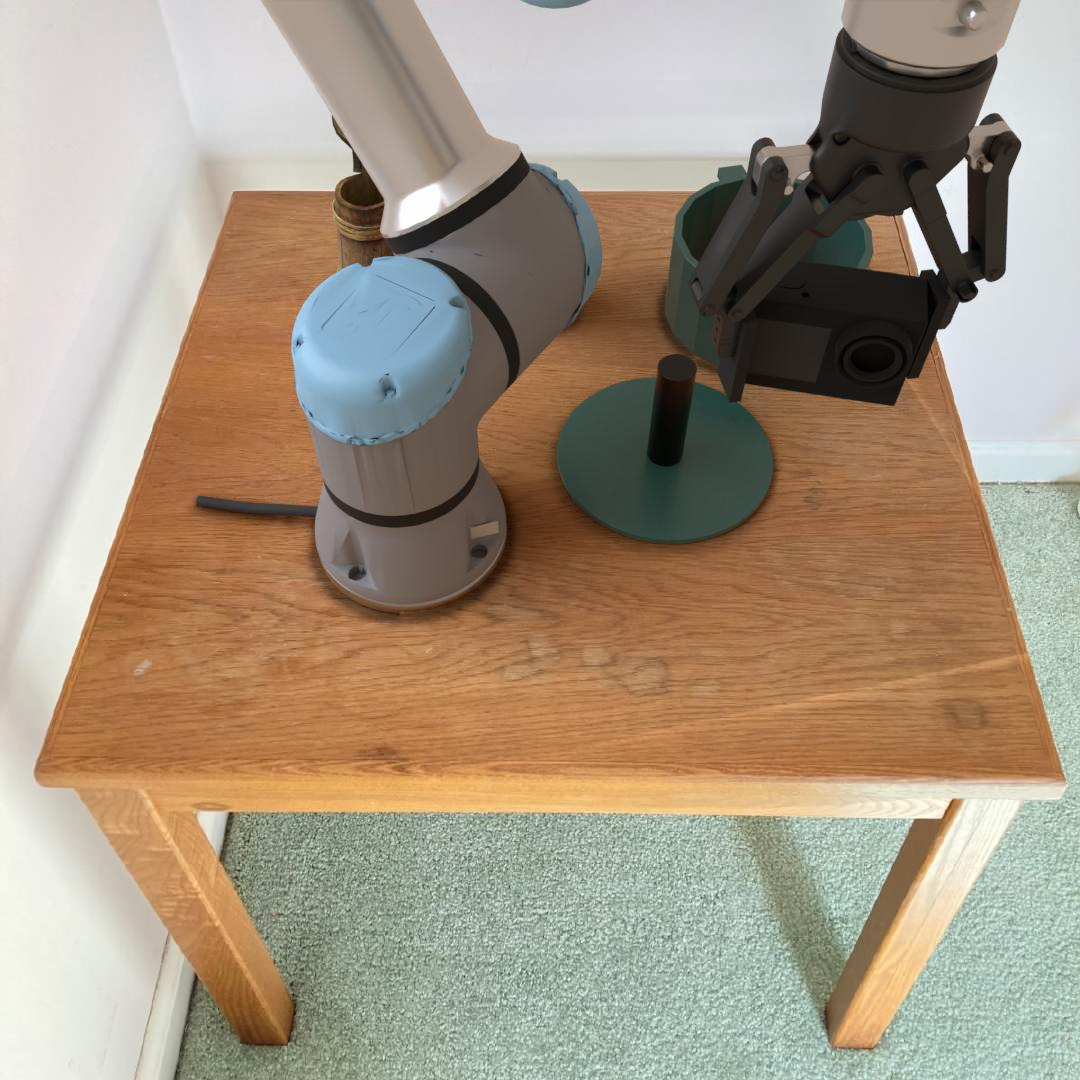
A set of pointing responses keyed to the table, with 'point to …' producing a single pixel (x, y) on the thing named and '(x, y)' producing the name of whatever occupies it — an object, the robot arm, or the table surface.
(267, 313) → the table surface
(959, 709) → the table surface
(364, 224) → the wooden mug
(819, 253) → the pot
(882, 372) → the digital camera
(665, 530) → the lid
